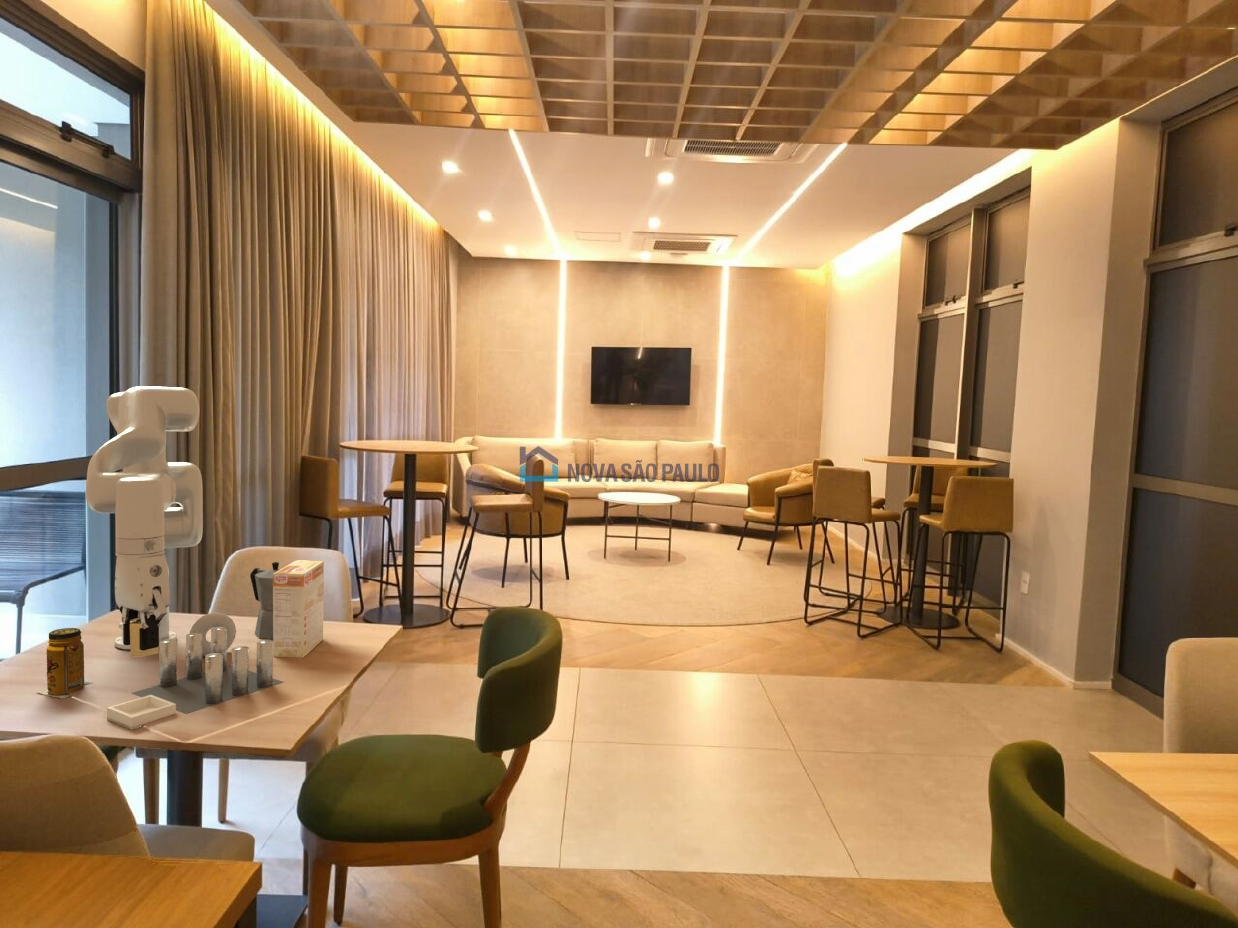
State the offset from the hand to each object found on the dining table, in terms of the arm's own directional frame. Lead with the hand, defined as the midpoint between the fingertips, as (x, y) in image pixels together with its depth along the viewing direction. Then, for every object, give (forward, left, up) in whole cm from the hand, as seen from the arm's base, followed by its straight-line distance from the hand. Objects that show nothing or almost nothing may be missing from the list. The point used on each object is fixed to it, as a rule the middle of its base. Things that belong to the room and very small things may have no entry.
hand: (141, 644), depth 148 cm
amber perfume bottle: (0, +1, -2) cm, 2 cm away
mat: (-4, +16, -14) cm, 21 cm away
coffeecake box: (-12, +43, -14) cm, 47 cm away
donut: (-22, +28, -14) cm, 38 cm away
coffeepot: (-27, +47, -14) cm, 56 cm away
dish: (0, 0, -14) cm, 14 cm away
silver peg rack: (-4, +17, -14) cm, 22 cm away
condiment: (-25, 0, -14) cm, 28 cm away
